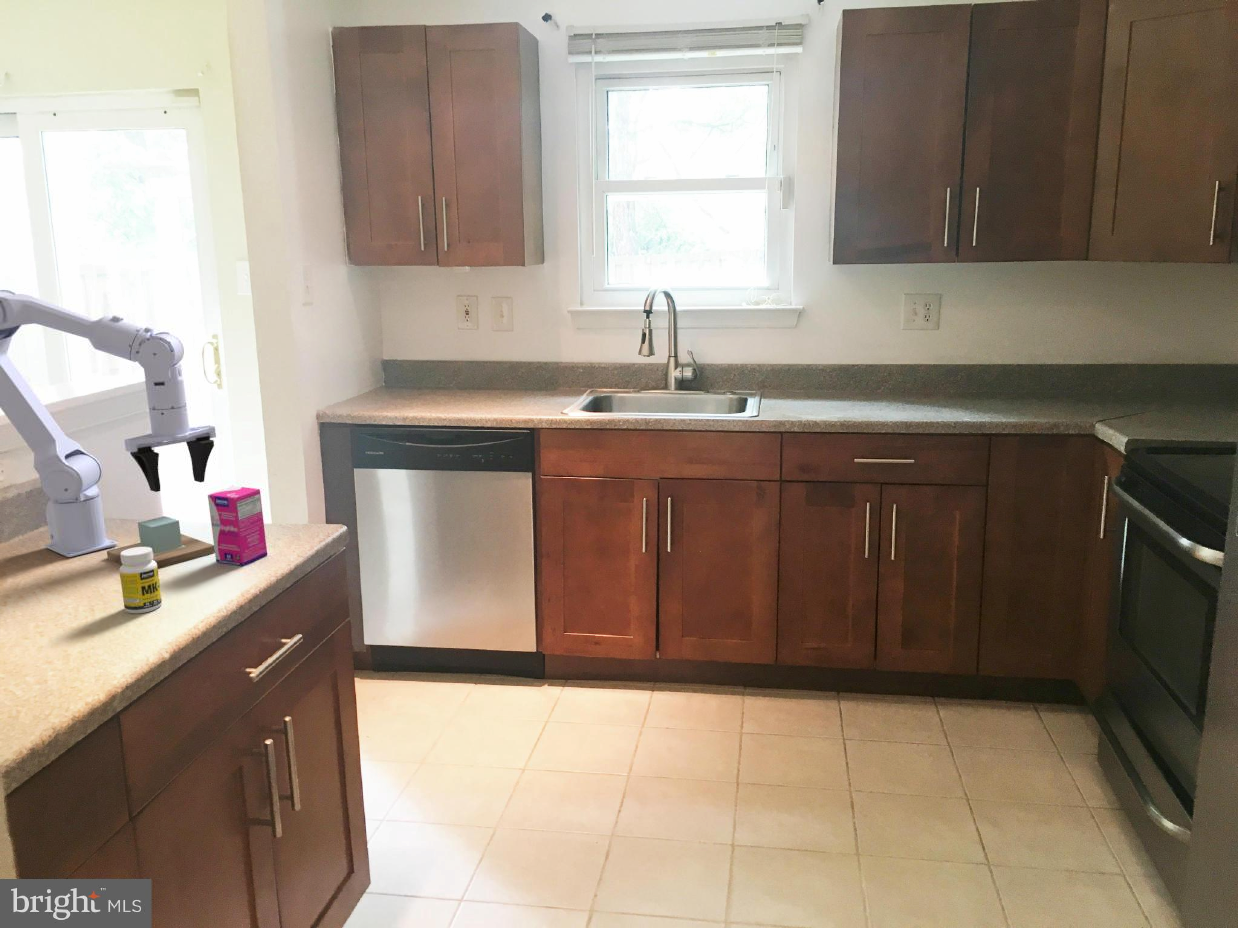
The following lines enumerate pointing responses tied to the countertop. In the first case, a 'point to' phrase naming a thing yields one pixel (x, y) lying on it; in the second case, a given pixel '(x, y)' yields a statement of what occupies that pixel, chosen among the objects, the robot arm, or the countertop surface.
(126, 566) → the supplement bottle
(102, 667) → the countertop surface
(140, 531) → the teal cube
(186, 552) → the plate
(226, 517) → the supplement box
